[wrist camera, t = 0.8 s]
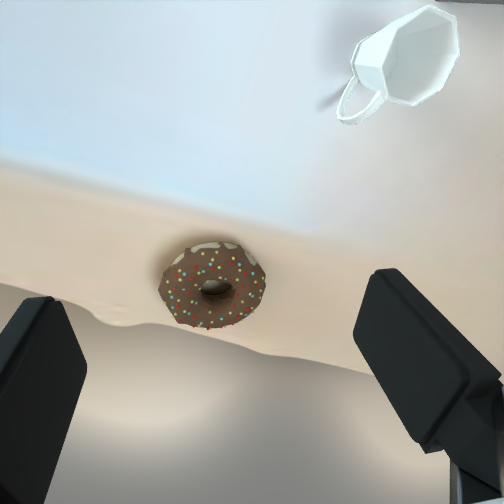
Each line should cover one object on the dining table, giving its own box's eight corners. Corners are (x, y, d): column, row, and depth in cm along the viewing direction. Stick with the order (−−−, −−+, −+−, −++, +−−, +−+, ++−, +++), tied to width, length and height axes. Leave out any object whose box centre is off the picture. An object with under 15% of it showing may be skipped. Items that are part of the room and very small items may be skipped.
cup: (415, 52, 31) (477, 50, 24) (347, 134, 34) (385, 153, 28) (375, -4, 28) (434, -23, 21) (304, 93, 31) (336, 104, 24)
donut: (216, 214, 37) (219, 234, 33) (278, 275, 44) (287, 298, 40) (138, 280, 40) (132, 306, 36) (207, 327, 47) (209, 352, 43)
